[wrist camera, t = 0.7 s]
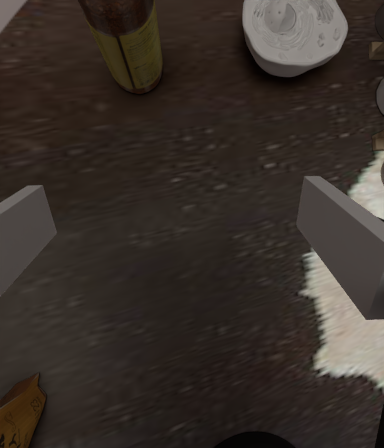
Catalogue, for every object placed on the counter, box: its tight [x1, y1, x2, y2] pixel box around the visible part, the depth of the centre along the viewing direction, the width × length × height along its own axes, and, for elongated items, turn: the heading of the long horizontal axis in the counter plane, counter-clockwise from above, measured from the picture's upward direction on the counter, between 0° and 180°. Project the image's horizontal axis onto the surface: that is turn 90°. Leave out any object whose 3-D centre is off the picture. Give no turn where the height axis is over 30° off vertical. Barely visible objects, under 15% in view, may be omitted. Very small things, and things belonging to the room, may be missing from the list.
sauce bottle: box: [78, 0, 163, 94], centre depth 23 cm, size 7×6×20 cm
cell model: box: [243, 0, 348, 77], centre depth 31 cm, size 10×12×7 cm
